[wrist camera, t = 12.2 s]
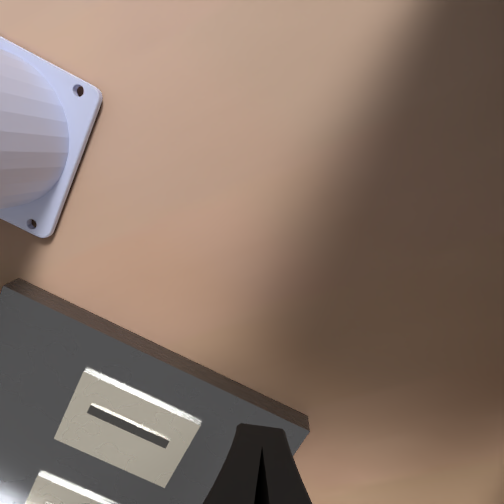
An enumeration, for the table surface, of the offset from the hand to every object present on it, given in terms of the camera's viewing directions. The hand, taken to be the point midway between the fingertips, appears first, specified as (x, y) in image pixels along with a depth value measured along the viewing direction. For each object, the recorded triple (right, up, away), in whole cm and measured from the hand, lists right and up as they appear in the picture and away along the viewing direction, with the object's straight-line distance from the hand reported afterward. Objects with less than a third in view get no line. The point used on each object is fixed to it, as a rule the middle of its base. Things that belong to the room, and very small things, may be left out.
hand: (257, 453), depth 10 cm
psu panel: (-10, -9, +12) cm, 18 cm away
